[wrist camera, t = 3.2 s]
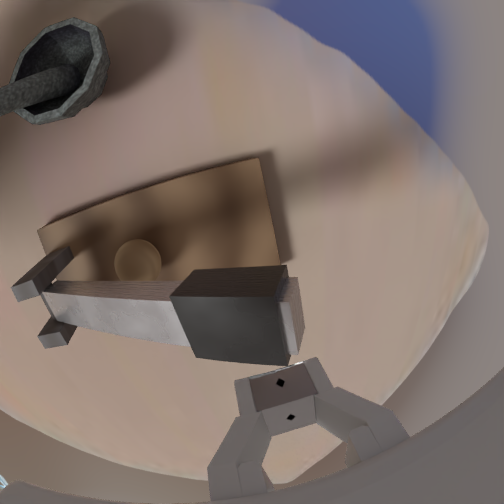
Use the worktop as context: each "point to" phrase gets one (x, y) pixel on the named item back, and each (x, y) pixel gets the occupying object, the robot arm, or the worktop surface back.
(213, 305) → the lever
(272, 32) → the worktop surface
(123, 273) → the smooth brown ball
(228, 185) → the base
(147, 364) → the worktop surface
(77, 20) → the mortar and pestle
